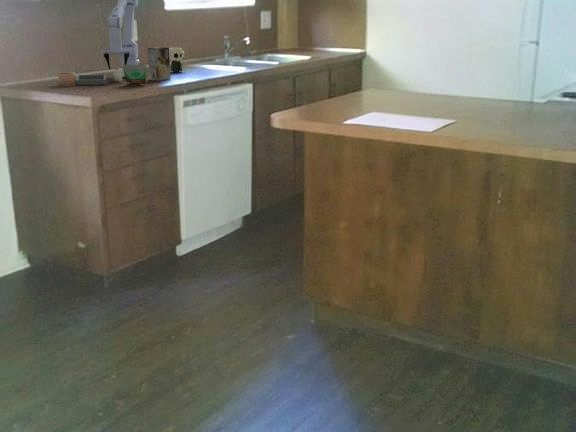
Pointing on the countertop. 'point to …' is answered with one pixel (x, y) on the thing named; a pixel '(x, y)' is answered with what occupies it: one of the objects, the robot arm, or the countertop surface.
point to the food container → (135, 74)
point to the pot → (67, 79)
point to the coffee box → (159, 63)
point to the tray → (91, 80)
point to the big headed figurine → (176, 58)
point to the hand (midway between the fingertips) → (117, 68)
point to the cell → (117, 74)
